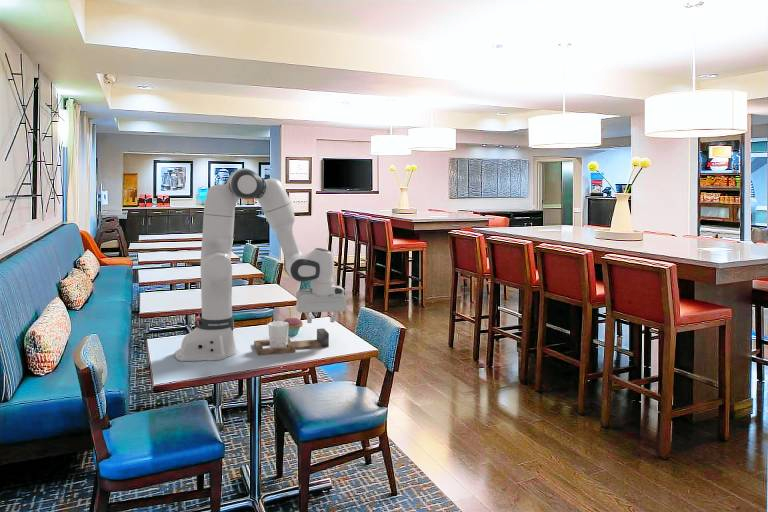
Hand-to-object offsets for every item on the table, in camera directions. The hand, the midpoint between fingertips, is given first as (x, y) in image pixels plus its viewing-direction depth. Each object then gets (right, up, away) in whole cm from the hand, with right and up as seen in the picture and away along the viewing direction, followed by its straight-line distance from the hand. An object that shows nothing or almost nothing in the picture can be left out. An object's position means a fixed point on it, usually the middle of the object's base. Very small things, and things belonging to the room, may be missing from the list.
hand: (320, 322), depth 233 cm
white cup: (-16, -10, -5) cm, 20 cm away
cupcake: (-14, -7, +15) cm, 22 cm away
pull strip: (-10, -9, -2) cm, 14 cm away
